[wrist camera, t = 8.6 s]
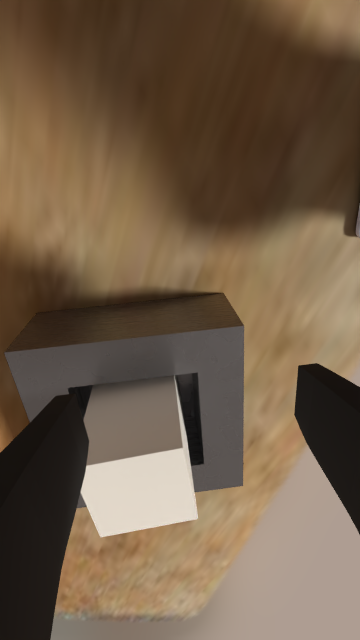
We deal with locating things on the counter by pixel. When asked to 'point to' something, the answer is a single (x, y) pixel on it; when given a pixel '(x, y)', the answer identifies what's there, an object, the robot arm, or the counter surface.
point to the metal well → (147, 368)
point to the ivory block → (137, 456)
